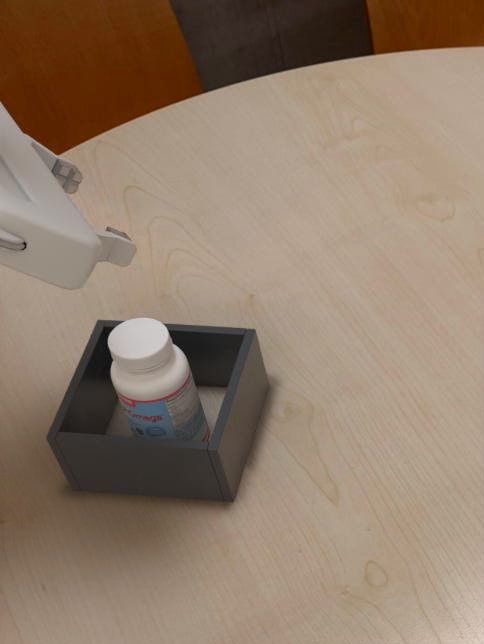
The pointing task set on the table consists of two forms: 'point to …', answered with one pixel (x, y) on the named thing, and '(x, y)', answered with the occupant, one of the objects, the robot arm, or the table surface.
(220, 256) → the table surface
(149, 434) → the pill bottle
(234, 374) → the open box
